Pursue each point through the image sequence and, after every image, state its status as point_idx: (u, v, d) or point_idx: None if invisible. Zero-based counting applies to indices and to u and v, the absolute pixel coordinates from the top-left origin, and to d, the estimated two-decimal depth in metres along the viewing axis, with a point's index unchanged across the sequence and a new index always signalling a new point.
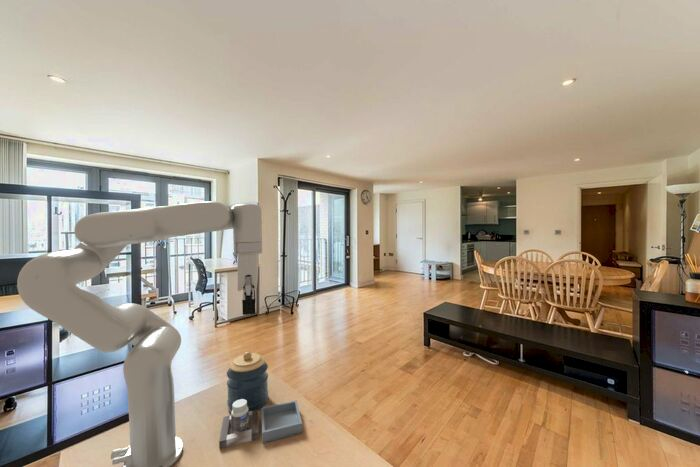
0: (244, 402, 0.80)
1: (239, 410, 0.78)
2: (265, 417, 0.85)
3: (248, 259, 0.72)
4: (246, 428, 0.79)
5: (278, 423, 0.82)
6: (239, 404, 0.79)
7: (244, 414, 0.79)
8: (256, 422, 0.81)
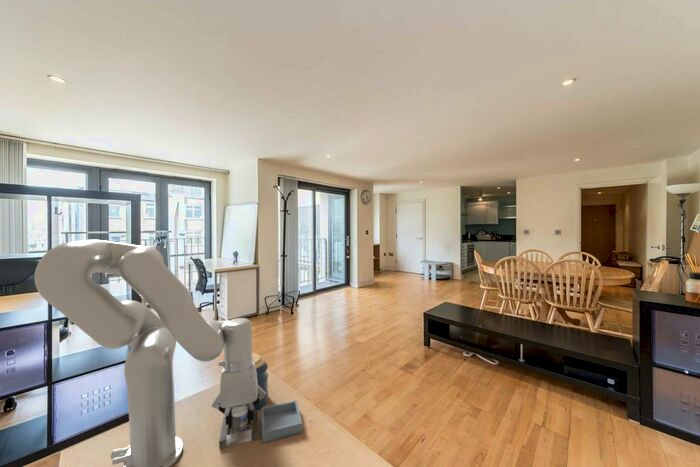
0: None
1: (240, 410, 0.78)
2: (265, 417, 0.85)
3: (255, 368, 0.81)
4: (246, 428, 0.79)
5: (278, 423, 0.82)
6: None
7: (244, 414, 0.79)
8: (256, 422, 0.81)
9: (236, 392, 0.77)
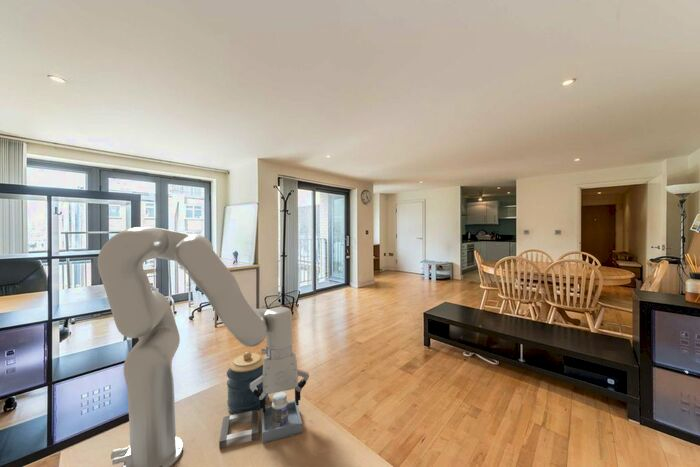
0: (283, 394, 0.83)
1: (280, 402, 0.80)
2: (265, 417, 0.85)
3: None
4: (286, 420, 0.82)
5: None
6: (279, 397, 0.82)
7: (285, 407, 0.81)
8: (256, 422, 0.81)
9: (279, 379, 0.79)
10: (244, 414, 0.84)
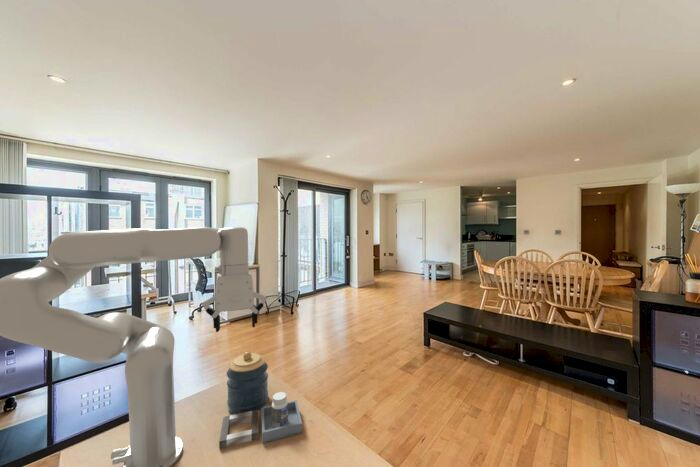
0: (283, 394, 0.83)
1: (280, 402, 0.80)
2: (265, 417, 0.85)
3: None
4: (286, 420, 0.82)
5: None
6: (279, 397, 0.82)
7: (285, 407, 0.81)
8: (256, 422, 0.81)
9: (232, 297, 0.77)
10: (244, 414, 0.84)
